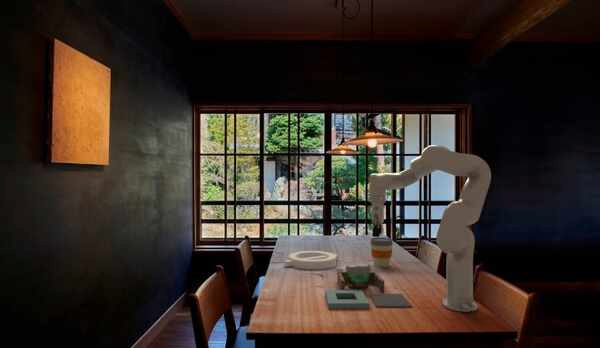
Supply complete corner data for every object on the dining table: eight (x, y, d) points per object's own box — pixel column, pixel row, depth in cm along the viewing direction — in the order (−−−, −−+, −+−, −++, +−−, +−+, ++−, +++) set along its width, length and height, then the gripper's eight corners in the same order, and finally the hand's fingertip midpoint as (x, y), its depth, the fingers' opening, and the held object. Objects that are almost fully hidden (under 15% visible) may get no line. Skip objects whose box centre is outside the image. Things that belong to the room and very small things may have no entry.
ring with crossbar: (339, 260, 217) (339, 252, 217) (331, 271, 190) (331, 262, 190) (296, 257, 224) (296, 249, 224) (282, 268, 197) (282, 259, 197)
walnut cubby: (384, 292, 154) (384, 281, 154) (341, 292, 154) (341, 281, 154) (376, 281, 170) (376, 271, 170) (337, 281, 170) (337, 271, 170)
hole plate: (369, 308, 135) (369, 303, 135) (328, 308, 135) (328, 303, 135) (361, 294, 151) (361, 290, 151) (325, 294, 151) (325, 290, 151)
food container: (350, 291, 156) (350, 268, 156) (345, 287, 161) (345, 265, 162) (375, 289, 159) (375, 267, 159) (369, 285, 165) (369, 263, 165)
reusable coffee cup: (368, 262, 208) (368, 237, 208) (388, 262, 209) (388, 237, 209) (373, 268, 196) (373, 241, 196) (395, 267, 196) (395, 241, 197)
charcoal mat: (412, 307, 136) (412, 305, 136) (376, 307, 136) (376, 305, 136) (401, 295, 150) (401, 293, 150) (369, 295, 150) (369, 294, 150)
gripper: (383, 200, 157) (383, 238, 157) (386, 198, 174) (386, 232, 174) (367, 200, 160) (366, 237, 160) (371, 198, 176) (371, 231, 176)
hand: (377, 235), depth 167 cm, fingers open, 9 cm apart
